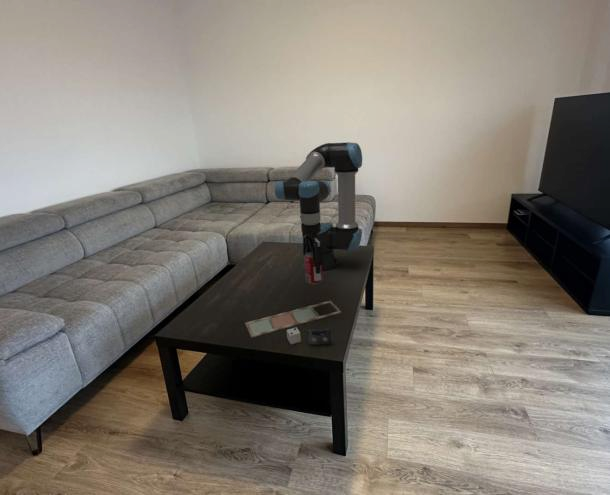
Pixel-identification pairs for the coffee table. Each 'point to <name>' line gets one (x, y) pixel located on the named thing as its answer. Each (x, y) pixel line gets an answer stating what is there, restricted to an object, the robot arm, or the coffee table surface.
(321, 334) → the mini dv tape
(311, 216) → the robot arm
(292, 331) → the die
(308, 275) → the soda can
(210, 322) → the coffee table surface
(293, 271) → the coffee table surface
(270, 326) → the frame
